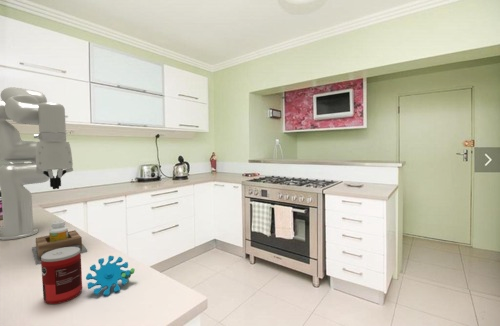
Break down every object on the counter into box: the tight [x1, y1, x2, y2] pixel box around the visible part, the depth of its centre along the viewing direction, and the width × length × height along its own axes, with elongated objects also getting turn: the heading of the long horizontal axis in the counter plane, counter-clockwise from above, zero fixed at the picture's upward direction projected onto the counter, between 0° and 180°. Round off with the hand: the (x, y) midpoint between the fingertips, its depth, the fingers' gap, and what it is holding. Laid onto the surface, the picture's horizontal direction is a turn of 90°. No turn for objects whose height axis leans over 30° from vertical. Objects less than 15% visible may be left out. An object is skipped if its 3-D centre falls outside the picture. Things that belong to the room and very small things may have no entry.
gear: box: [85, 255, 136, 297], centre depth 66 cm, size 11×6×10 cm
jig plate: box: [31, 243, 88, 265], centre depth 90 cm, size 18×14×3 cm
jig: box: [35, 229, 83, 258], centre depth 90 cm, size 12×12×4 cm
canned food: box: [40, 247, 83, 305], centre depth 61 cm, size 8×8×11 cm
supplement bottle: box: [48, 220, 69, 242], centre depth 90 cm, size 5×5×10 cm
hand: (55, 188), depth 89 cm, fingers closed
